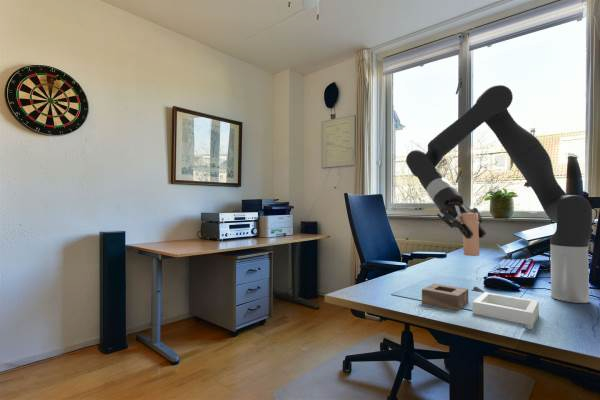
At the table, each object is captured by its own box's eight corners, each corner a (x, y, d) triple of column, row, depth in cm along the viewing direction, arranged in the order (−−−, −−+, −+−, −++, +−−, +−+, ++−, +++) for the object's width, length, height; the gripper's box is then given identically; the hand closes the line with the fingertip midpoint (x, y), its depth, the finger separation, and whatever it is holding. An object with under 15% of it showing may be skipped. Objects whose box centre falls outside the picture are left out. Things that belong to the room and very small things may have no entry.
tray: (484, 305, 94) (484, 292, 94) (538, 315, 85) (538, 300, 85) (472, 316, 84) (472, 301, 84) (532, 329, 76) (532, 312, 76)
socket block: (434, 299, 101) (434, 283, 101) (468, 305, 94) (468, 288, 94) (421, 306, 93) (421, 289, 93) (458, 314, 86) (458, 295, 86)
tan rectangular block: (465, 253, 93) (464, 212, 93) (481, 254, 90) (479, 212, 90) (461, 255, 90) (460, 213, 90) (477, 256, 87) (475, 213, 87)
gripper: (430, 186, 96) (463, 228, 84) (468, 186, 100) (504, 226, 88) (419, 204, 100) (449, 246, 89) (455, 203, 105) (488, 243, 93)
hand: (476, 236), depth 88 cm, fingers closed on tan rectangular block, 4 cm apart
